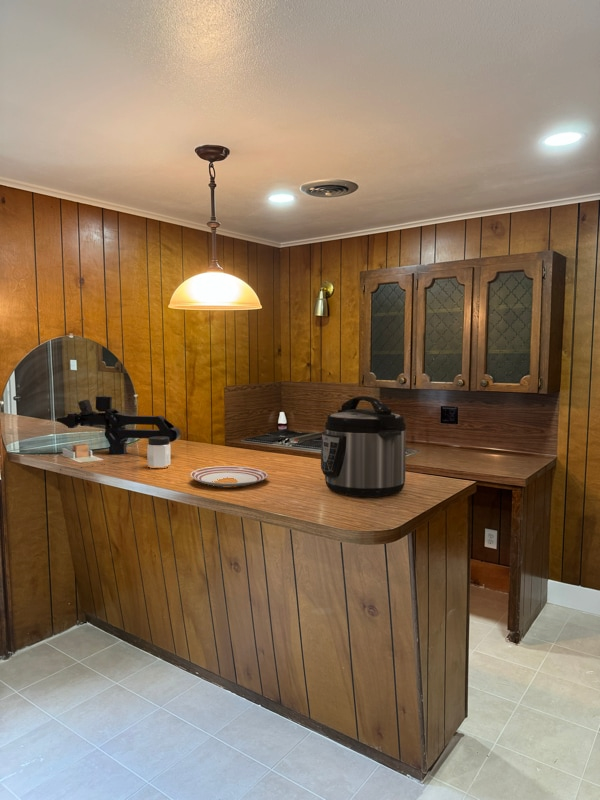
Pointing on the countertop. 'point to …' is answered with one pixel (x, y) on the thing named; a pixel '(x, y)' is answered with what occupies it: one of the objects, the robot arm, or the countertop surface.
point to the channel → (71, 455)
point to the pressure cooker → (364, 450)
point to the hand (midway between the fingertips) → (62, 418)
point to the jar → (158, 451)
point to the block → (80, 450)
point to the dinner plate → (229, 475)
